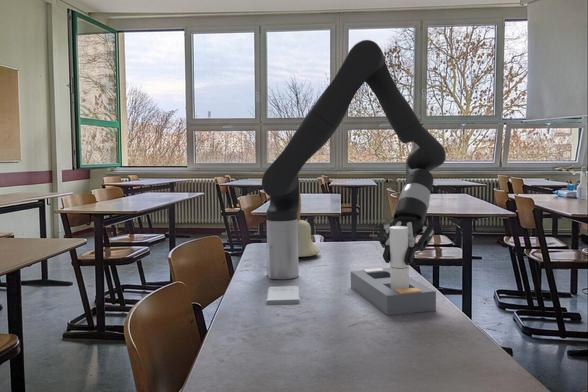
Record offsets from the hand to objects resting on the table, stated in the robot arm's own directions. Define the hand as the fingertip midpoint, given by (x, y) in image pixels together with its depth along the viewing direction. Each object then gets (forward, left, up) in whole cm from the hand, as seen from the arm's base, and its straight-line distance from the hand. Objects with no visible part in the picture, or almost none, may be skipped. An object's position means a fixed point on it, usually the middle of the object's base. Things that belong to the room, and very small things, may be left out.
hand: (396, 262), depth 113 cm
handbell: (-9, +63, -11) cm, 64 cm away
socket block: (+1, +7, -11) cm, 13 cm away
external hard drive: (-24, +16, -12) cm, 31 cm away
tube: (+1, +1, -7) cm, 8 cm away
